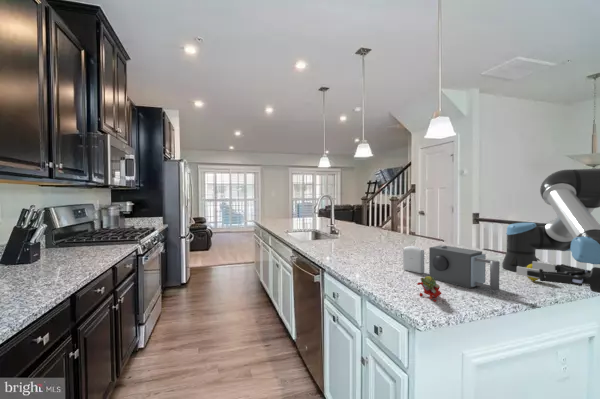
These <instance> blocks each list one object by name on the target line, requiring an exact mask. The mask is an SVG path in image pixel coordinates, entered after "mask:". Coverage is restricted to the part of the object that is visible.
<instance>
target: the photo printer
mask: <svg viewBox="0 0 600 399" xmlns="http://www.w3.org/2000/svg"><path fill="white" fill-rule="evenodd" d="M402 252H403V258H402V259H403V262H402V263H403V271H408V272H412V273H418V274H424V273H425V250H424V249H423V248H421V247H418V246H412V245H410V246H409V245H408V246H406V247H405V246H404V248H403V251H402Z"/></svg>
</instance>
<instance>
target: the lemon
mask: <svg viewBox="0 0 600 399" xmlns="http://www.w3.org/2000/svg"><path fill="white" fill-rule="evenodd" d="M526 268H531V269H532V264H529V265H528V266H527V267H526ZM526 277H527V279H529V280H531V281H532V282H536V281H538V280H539V279H538V278H533V277H528V276H526Z"/></svg>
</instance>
